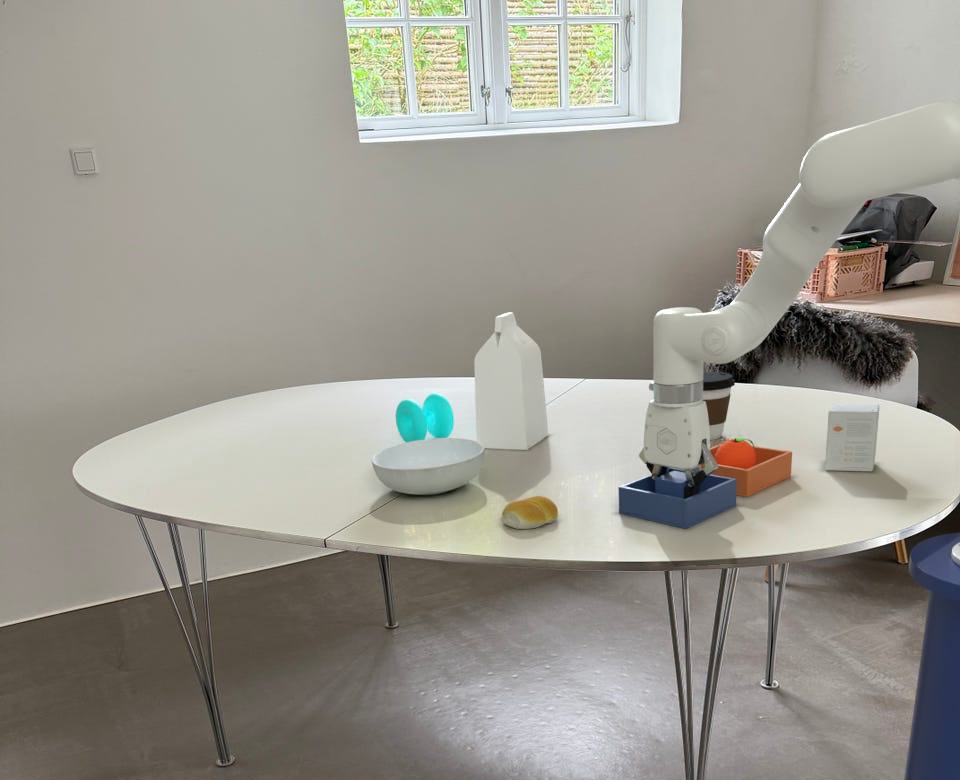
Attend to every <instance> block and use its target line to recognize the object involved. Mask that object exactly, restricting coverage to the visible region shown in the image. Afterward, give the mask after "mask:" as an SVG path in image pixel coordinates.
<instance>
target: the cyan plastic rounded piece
mask: <svg viewBox="0 0 960 780" xmlns="http://www.w3.org/2000/svg"><path fill="white" fill-rule="evenodd" d="M395 423H396V424H395V425H396V428H397V431H398V433H399V436H400V437H401V439H402V440H403V441H404V443H407V442H412V441H418V440H425V439H426V436H427V433H429V434H430V435H431V436H432V437H434V439H436V438H449V436H450V435H451V434H452V432H453V429H454V425H455V418H454V412H453V408H452V406H451V404H450V402H449V401H448V399H447V398H446V397H445V396H444V395H443V394H441V393H438V392H433V393H430V394H429V395H427V396H426V398H425V399H424V401H423V403H422V407H421V405H420V404H419V403H418V402H417V401H416V400H414V399H411V398H405V399H403V400H401V401H399V403H398V405H397V407H396V410H395Z"/></svg>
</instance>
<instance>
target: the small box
mask: <svg viewBox="0 0 960 780" xmlns="http://www.w3.org/2000/svg"><path fill="white" fill-rule="evenodd" d="M879 415H880V404H879V403H872V404H871V403H870V404H869V403H867V404H866V403H865V404H863V403H862V404H861V403H860V404H859V403H855V404H854V403H851V404H850V403H849V404H848V403H835V404H832V405H831V406H830V409H829V411H828V415H827V416H828V417H827V418H828V419H827V431H826V447H825V460H824V461H825V463H824V470H825V471H838V472H841V471H843V472H873V471H874V466H875V462H876V453H877V443H878V431H879V430H878V429H879V419H880V416H879Z"/></svg>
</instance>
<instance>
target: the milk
mask: <svg viewBox="0 0 960 780" xmlns="http://www.w3.org/2000/svg"><path fill="white" fill-rule="evenodd" d="M494 320H495V321H494V332H493V333H492V335H490V337H489V338H488V339H487V340H486V341H485V342H484V344H483V345H482V347H480V349H479V350H478V351H477V353H476V355H475V357H474V362H473V363H474V366H473V367H474V396H475V397H474V399H475V427H476V428H475V432H476V433H475V435H476V441H477V442H479V443H481V444H482V445H483V446H484V448H485V449H494V450H495V449H496V450H516V451H518V450H519V451H528V450H529V449H531V448H532V447H533V446H535V445H537V444H538V443H539V442H541V441H542V440H544V439H546V438H547V437H548V436H549V427H548V417H547V416H548V415H547V404H546V403H547V402H546V394H545V382H544V381H545V380H544V372H543V362H542V361H543V360H542V352H541V348H540V346H539V345H538V343H537V342H535V340H534V339H533V338H532V337H530V336H529V335H528V334H527V333H526V332H525V331H524V330H523V329H522V328H521V327H520V326H518V323H517V319H516V316H515V313H514V312H506V313H505V312H504V313H502V314H500V315H497V316H495V318H494Z"/></svg>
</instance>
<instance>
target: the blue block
mask: <svg viewBox="0 0 960 780" xmlns="http://www.w3.org/2000/svg"><path fill="white" fill-rule="evenodd" d="M694 476H695V475H694ZM685 486H687V481H686V476H685V473H683V472H678V471H673V472H670V473H668V474H665V475H663V476H660V477H658V478H655V493H658V494H663V495H668V496H673V497H677V498H682V499H684V488H685Z"/></svg>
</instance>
